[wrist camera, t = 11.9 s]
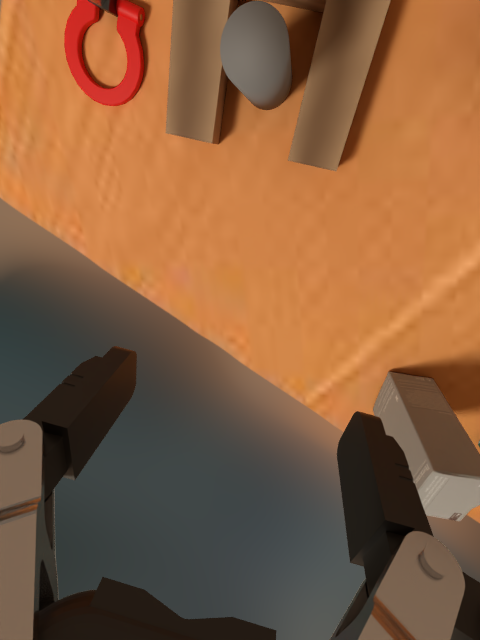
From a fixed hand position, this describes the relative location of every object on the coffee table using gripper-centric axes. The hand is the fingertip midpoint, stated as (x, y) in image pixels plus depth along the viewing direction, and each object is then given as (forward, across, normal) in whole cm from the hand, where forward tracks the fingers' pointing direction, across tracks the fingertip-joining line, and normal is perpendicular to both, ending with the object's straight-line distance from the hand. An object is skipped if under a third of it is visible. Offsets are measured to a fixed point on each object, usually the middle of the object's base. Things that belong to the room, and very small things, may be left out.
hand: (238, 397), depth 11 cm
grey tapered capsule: (+30, +5, -13) cm, 33 cm away
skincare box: (+30, -24, +20) cm, 44 cm away
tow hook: (+30, +22, -13) cm, 40 cm away
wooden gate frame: (+30, +5, -14) cm, 34 cm away
